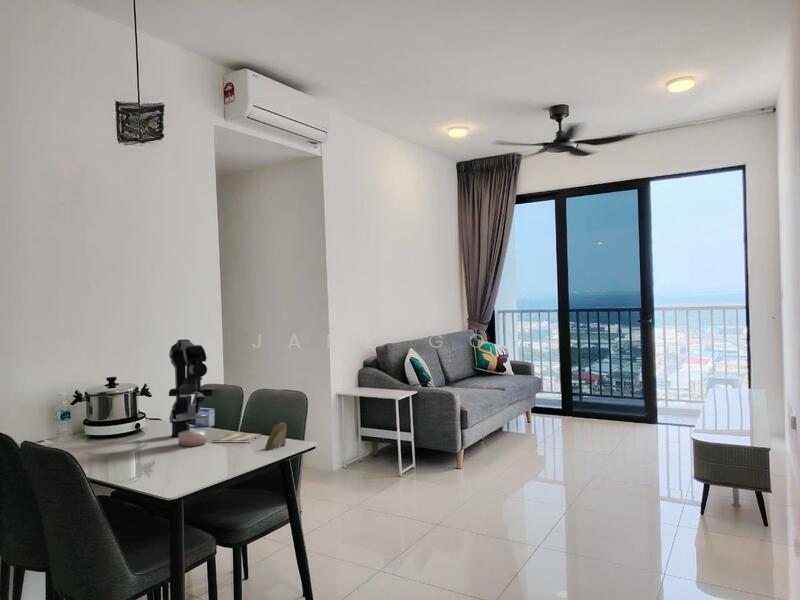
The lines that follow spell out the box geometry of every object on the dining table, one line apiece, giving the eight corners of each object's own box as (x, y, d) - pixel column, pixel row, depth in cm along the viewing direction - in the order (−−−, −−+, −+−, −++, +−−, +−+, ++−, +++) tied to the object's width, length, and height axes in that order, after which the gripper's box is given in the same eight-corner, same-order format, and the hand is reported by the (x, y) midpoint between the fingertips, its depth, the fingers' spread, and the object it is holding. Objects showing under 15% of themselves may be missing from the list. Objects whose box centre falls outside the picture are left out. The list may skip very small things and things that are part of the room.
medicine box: (195, 426, 265) (195, 408, 265) (201, 424, 269) (201, 407, 269) (209, 427, 262) (209, 409, 263) (214, 425, 267) (214, 407, 267)
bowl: (173, 447, 218) (173, 434, 218) (186, 441, 229) (186, 429, 229) (199, 447, 217) (199, 434, 217) (211, 441, 228) (211, 429, 228)
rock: (268, 445, 208) (292, 439, 214) (261, 426, 212) (285, 420, 218) (262, 458, 216) (286, 451, 221) (256, 439, 220) (279, 433, 225)
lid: (170, 419, 217) (170, 406, 218) (185, 414, 230) (185, 402, 230) (201, 419, 216) (201, 407, 216) (214, 414, 229) (214, 402, 229)
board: (213, 442, 226) (213, 440, 226) (226, 435, 240) (226, 433, 240) (249, 442, 225) (249, 440, 225) (261, 436, 239) (261, 433, 239)
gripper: (162, 377, 217) (161, 416, 216) (206, 377, 215) (206, 416, 215) (175, 374, 228) (175, 411, 227) (218, 374, 226) (217, 411, 226)
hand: (193, 413), depth 223 cm, fingers closed on lid, 3 cm apart
